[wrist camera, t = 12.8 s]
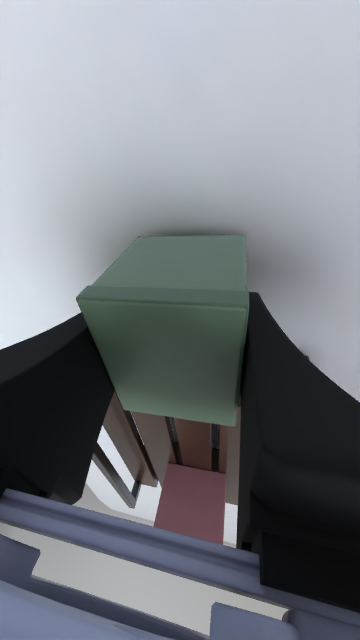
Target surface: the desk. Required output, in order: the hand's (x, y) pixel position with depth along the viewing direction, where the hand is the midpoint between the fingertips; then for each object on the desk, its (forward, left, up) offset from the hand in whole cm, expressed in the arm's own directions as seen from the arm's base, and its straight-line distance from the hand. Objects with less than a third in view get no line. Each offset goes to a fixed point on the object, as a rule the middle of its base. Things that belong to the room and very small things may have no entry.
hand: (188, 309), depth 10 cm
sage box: (0, 0, -1) cm, 1 cm away
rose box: (0, +17, +1) cm, 17 cm away
